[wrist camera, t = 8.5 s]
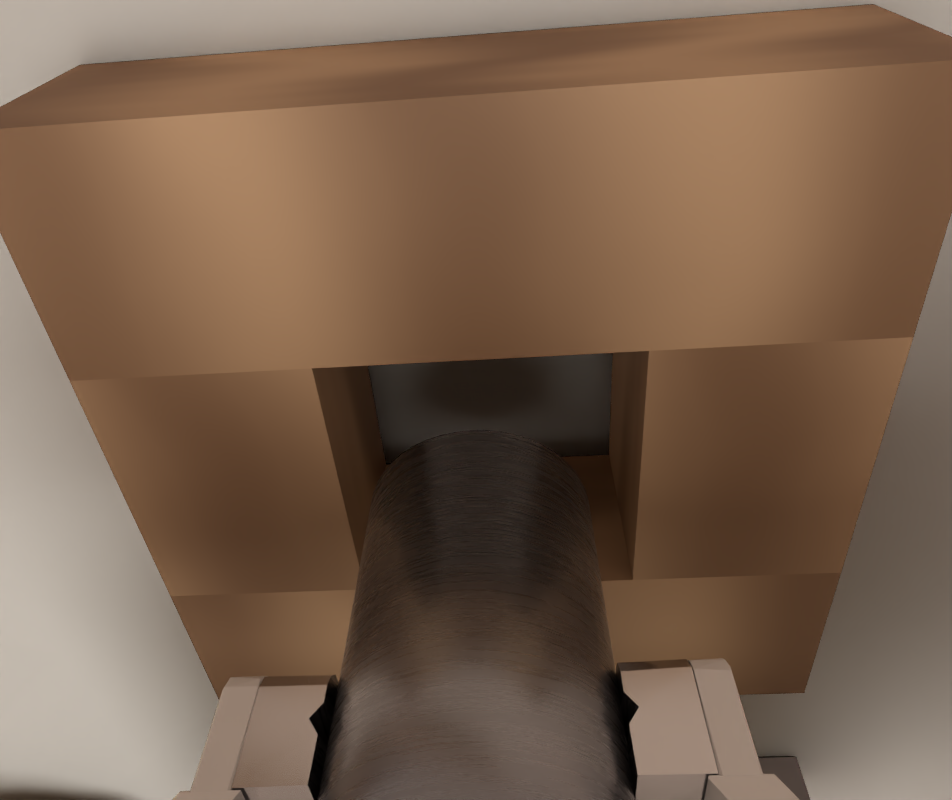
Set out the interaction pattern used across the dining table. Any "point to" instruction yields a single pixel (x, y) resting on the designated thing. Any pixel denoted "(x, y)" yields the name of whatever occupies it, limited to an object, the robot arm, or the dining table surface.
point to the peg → (478, 635)
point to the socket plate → (496, 299)
